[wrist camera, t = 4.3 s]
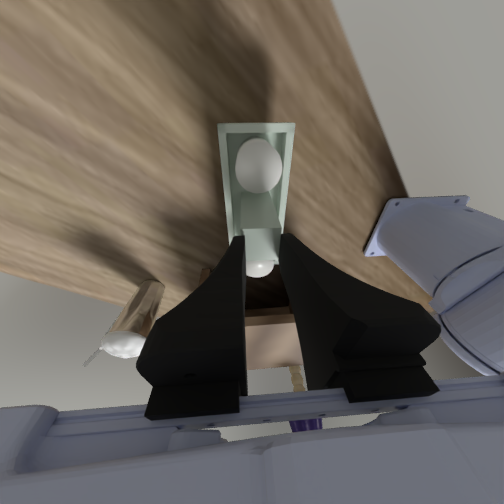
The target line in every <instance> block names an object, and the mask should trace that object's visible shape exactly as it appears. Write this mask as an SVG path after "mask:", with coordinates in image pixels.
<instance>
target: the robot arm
mask: <svg viewBox="0 0 504 504" xmlns="http://www.w3.org/2000/svg"><path fill="white" fill-rule="evenodd" d="M469 200H470V197H469V196H465V195H463V196H440V197H416V198H393V199H390V200H389V201H388V202H387V203H386V206H385V208H384V210H383V212H382V214H381V216H380V218H379V221H378V223H377V225H376V227H375V229H374V231H373V233H372V236H371V238H370V240H369V242H368V244H367V246H366V248H365V251H364V253H363V254H364V255H365V256H383V255H387V256H388V257H389V258H390V259H391V260H392V261H393V262H394V263H395V264H396V265H398V266H399V267H400V268H401V269H402V270H403V271H404V272H405V273H406V274H407V275H408V276H409V277H411V278H412V279H413V280H414V281H415V282H416V283H417V284H418V285H419V286H420V287H421V288H422V289H424V290H425V291H426V292H427V293H428V294H429V295H430V296H431V297H432V298H433V299H432V300H431V301H430V302H429V303H428V304H429V305H430V306H431V307H432V308H433V309H434V310H435V311H436V312H437V313H436V314H434V317H432V316H431V315H430V314H429V313H428V312H427V311H426V310H425V309H424V308H423V307H422V306H421V305H420V304H419V303H416V302H413V301H410V300H407V299H404V298H402V297H399V296H396V295H393V294H390V293H388V292H385V291H383V290H381V289H378V288H376V287H373V286H371V285H369V284H367V283H364V282H362V281H360V280H358V279H356V278H354V277H352V276H350V275H348V274H346V273H345V272H343V271H341V270H339V269H338V268H336V267H334V266H333V265H331V264H330V263H328V262H327V261H325V260H324V259H322V258H321V257H319V256H318V255H317V254H315V253H314V252H313V251H312V250H310V249H309V248H308V247H307V246H305V245H304V244H303V243H302V242H301V241H300V240H298V239H297V238H296V237H295V236H294V235H292V234H291V233H288V234H281V238H280V248H279V257H278V262H279V267H280V272H281V276H282V279H283V282H284V285H285V288H286V291H287V294H288V297H289V300H290V303H291V306H292V310H293V314H294V319H295V323H296V328H297V333H298V338H299V343H300V348H301V353H302V359H303V364H304V370H305V376H306V382H307V388H308V391H300V392H288V393H277V394H265V395H253V396H248V388H247V387H248V386H247V361H246V336H245V293H246V250H245V235H240V236H234V237H233V238H232V241H231V243H230V246H229V247H228V249H227V251H226V253H225V255H224V256H223V258H222V259H221V261H220V262H219V264H218V265H217V267H216V268H215V269H214V270H213V272H212V273H211V274H210V275H209V276H208V278H207V279H206V280H205V281H204V282H203V283H202V284H201V285H200V286H199V287H198V288H197V289H196V290H195V291H194V292H193V293H191V294H190V295H189V296H188V297H187V298H186V299H185V300H183V301H182V302H181V303H180V304H178V305H177V306H176V307H174V308H173V309H172V310H170V311H169V312H167V313H166V314H165V315H163V316H162V317H160V318H159V319H157V320H156V321H155V323H154V325H153V327H152V329H151V330H150V332H149V334H148V336H147V338H146V340H145V343H144V345H143V348H142V350H141V352H140V355H139V357H138V360H137V363H136V368H137V370H138V372H139V373H140V374H141V376H142V377H144V378H145V379H146V380H147V381H148V382H149V383H150V384H151V385H152V386H153V388H152V391H151V395H150V398H149V401H148V404H145V405H132V406H120V407H109V408H96V409H84V410H74V411H61V412H59V411H58V410H57V409H55V408H53V407H50V406H45V405H27V406H15V407H2V408H0V504H504V221H503V220H501V219H498V218H496V217H493V216H491V215H488V214H485V213H483V212H480V211H478V210H475V209H473V208H470V207H467V206H465V205H466V204H467V203H468V201H469ZM396 202H397V203H396ZM395 203H396V204H395ZM439 335H440V336H441V338H442V340H443V341H444V342H445V343H446V344H447V346H448V347H449V348H450V349H451V350H452V351H453V352H454V353H455V354H456V355H458V356H459V357H460V358H461V359H462V360H463V361H465V362H466V363H467V364H468V365H470V366H471V367H473V368H474V369H475V370H477V371H478V372H480V373H482V374H483V375H485V376H480V377H468V378H456V379H444V380H432V379H431V377H430V376H429V375H428V373H427V372H426V371H425V369H424V368H423V366H424V365H426V362H425V360H424V359H423V357H422V356H421V355H420V354H419V353H420V352H421V351H423V350H424V349H425V348H426V347H428V346H429V345H430V344H431V343H433V342H434V341H435V340H436V339H437V338H438V337H439ZM392 411H393V412H392ZM381 412H389V413H384V414H380V415H379V416H378V417H377V418H376V419H375V420H373V421H371V422H369V423H367V424H364V425H362V426H353V427H340V428H331V429H319V430H310V431H302V432H293V433H286V434H279V435H272V436H264V437H258V438H251V439H245V440H238V441H232V442H228V441H227V440H226V439H223V438H220V437H221V436H220V435H221V433H220V431H219V430H202V429H205V428H217V427H227V426H239V425H250V424H261V423H272V422H283V421H294V420H305V419H316V418H326V417H337V416H348V415H359V414H370V413H381Z"/></svg>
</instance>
